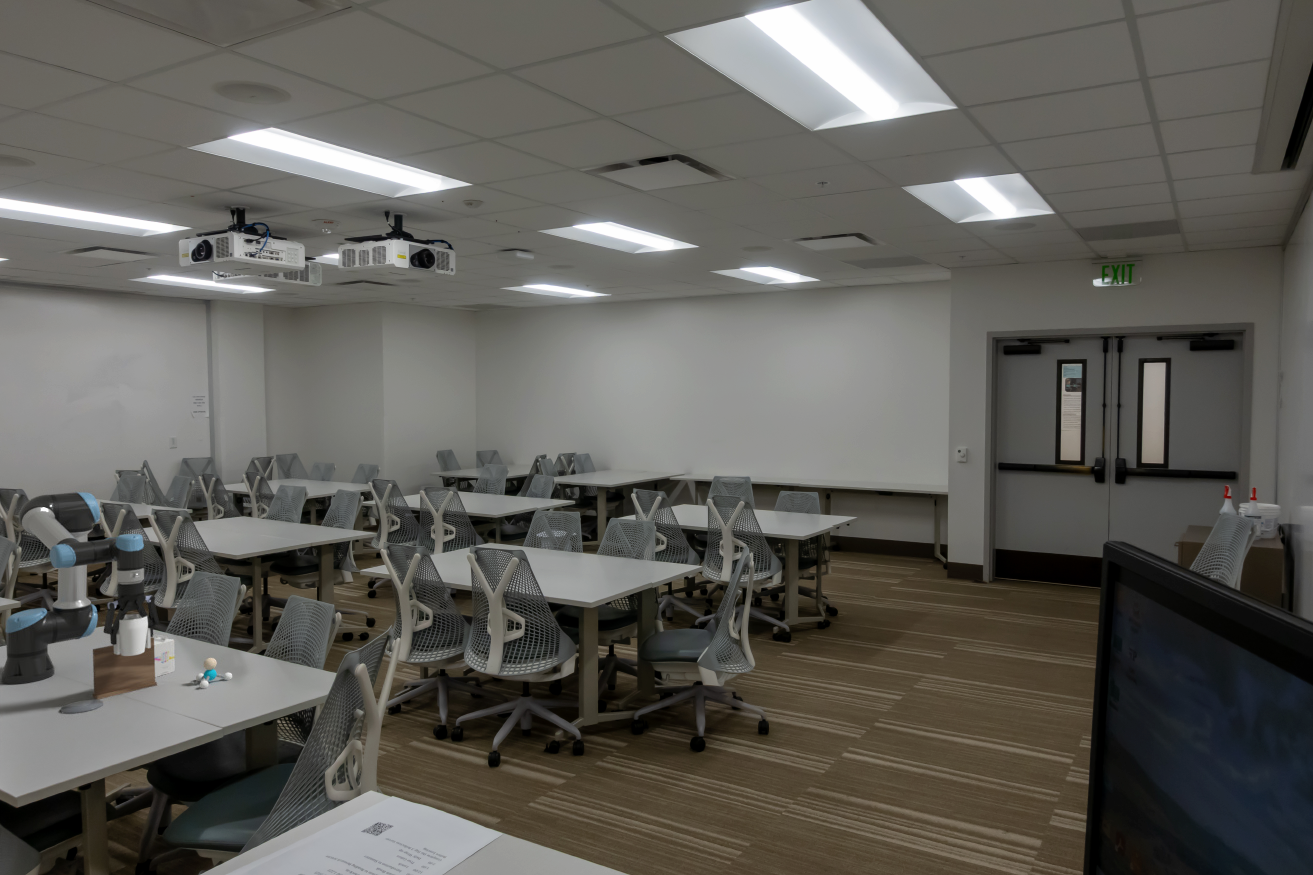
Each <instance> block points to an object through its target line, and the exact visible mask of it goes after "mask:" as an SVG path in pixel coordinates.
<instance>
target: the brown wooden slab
mask: <svg viewBox="0 0 1313 875" xmlns="http://www.w3.org/2000/svg"><path fill="white" fill-rule="evenodd" d="M92 662H93V663H92V664H93V665H92V666H93V669H92V670H93V693H92V698H94V699H95V700H101V699H105V698H106V699H107V698H110V697H115V696H117V695H121V694H126V693H130V692H134V691H139V690H142V689H146V688H150V687H151V688H152V687H156V686H158V685H157V684H158V683H157V681H156V677H155V656H154V638H152V637H151V648H146V647H145V651H144V652H143V653H142V654H138V655H133V656H123V655H121V653H120V654H119V655H117V654H114V645H112V644H111V645H108V646H102V647H97V648H92Z"/></svg>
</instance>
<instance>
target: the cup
mask: <svg viewBox="0 0 1313 875" xmlns="http://www.w3.org/2000/svg"><path fill="white" fill-rule="evenodd" d="M147 629H148V619H147V616H146V617H143V618H142V617H141V615H140V614H139V613H132V614H131V613H130V614H126V615H125V617H124V619H123V620H119V630H118V632H117V634H120V653H121V655H123V656H133V655H138V654H142V653H143V652H144V651H145V644H146V636H147Z"/></svg>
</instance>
